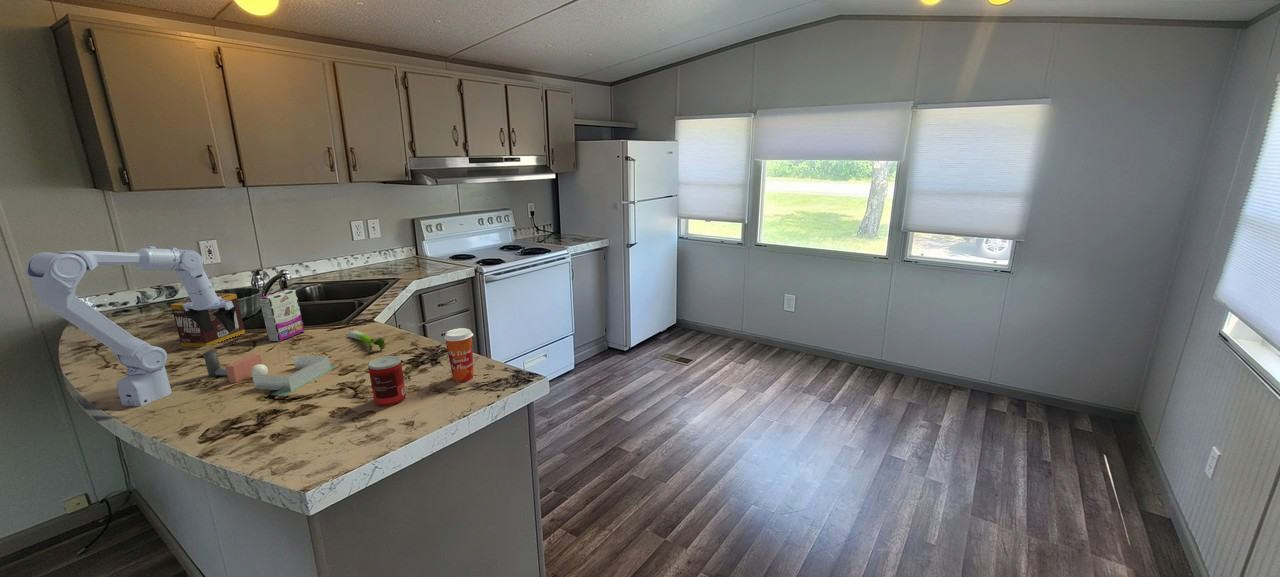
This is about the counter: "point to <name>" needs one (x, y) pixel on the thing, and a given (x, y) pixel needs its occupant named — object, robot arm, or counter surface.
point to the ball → (259, 370)
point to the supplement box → (196, 335)
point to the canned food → (387, 380)
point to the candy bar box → (282, 315)
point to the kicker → (231, 366)
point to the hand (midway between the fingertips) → (220, 330)
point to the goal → (294, 374)
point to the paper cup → (460, 353)
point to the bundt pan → (244, 299)
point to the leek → (367, 339)
